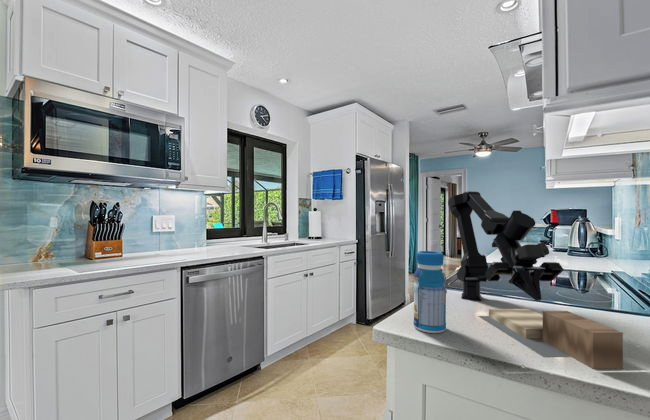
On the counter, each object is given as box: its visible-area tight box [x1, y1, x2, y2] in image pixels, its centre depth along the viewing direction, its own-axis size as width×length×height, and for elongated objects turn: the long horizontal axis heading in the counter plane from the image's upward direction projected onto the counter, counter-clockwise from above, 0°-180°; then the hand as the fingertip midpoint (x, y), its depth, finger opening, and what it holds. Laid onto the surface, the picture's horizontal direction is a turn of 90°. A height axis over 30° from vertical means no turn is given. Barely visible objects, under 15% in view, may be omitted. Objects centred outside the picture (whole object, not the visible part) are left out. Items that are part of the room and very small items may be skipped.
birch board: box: [488, 308, 543, 338], centre depth 81 cm, size 16×12×2 cm
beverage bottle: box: [412, 250, 448, 334], centre depth 80 cm, size 8×8×20 cm
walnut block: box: [542, 310, 624, 370], centre depth 66 cm, size 7×6×13 cm
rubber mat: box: [477, 315, 572, 358], centre depth 77 cm, size 26×15×1 cm, turn 2°
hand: (539, 299), depth 77 cm, fingers closed
